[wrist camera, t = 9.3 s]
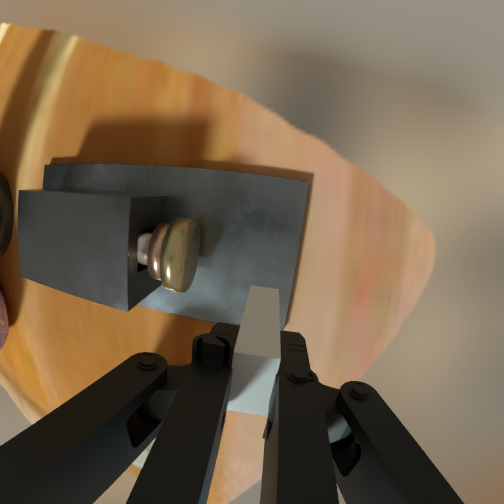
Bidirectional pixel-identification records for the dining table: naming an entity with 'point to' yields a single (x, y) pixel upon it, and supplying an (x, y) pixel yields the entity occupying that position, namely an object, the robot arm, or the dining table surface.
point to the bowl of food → (3, 321)
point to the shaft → (171, 253)
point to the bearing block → (146, 220)
